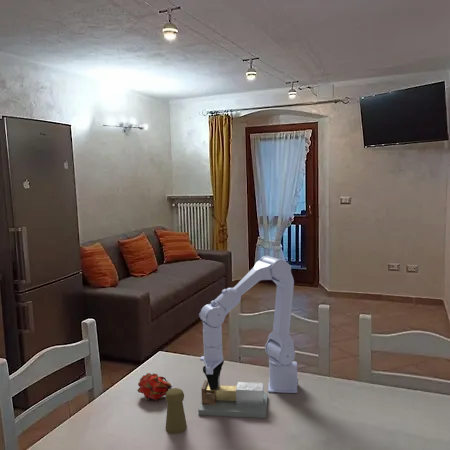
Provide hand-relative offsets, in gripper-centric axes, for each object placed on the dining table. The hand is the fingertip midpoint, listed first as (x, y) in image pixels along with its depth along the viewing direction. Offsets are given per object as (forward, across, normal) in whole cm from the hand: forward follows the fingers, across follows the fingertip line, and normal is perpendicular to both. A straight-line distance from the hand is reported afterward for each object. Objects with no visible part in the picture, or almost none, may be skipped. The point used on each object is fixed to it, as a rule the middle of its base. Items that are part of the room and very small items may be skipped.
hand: (214, 386), depth 133 cm
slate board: (+6, 0, +6) cm, 8 cm away
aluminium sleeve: (+4, 0, +11) cm, 12 cm away
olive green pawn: (+6, +13, -9) cm, 17 cm away
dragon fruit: (+6, -3, -20) cm, 21 cm away
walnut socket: (+4, 0, -2) cm, 5 cm away
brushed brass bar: (+4, 0, +4) cm, 6 cm away
